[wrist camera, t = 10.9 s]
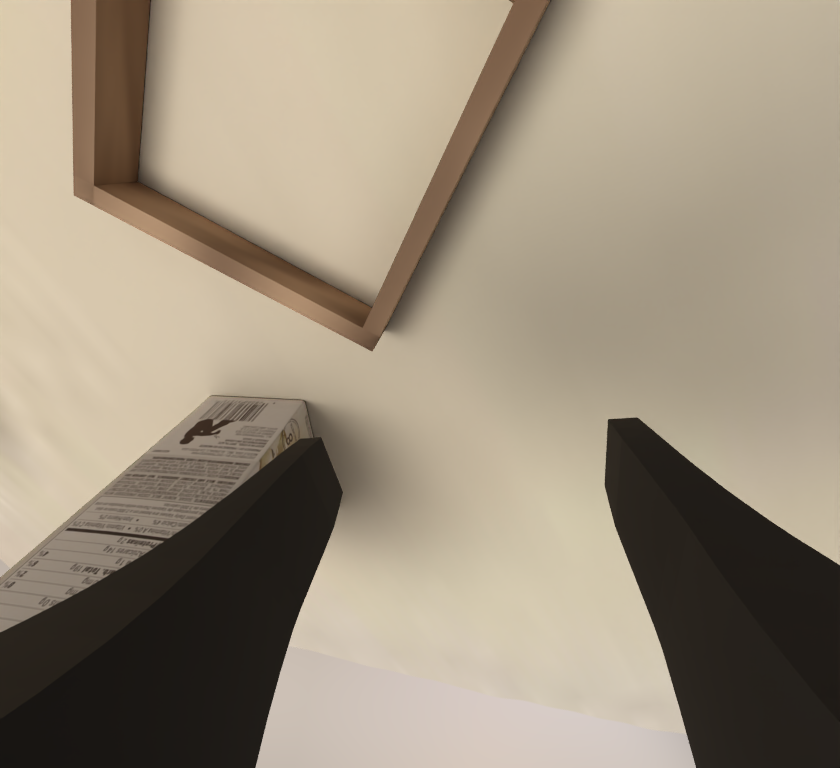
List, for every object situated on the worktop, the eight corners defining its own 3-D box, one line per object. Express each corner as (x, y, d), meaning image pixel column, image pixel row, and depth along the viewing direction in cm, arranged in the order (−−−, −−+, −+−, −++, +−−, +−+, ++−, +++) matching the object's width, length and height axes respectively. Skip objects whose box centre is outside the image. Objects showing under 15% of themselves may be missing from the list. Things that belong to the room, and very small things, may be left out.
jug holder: (555, -11, 12) (567, -41, 10) (383, 331, 19) (372, 351, 17) (141, -298, 10) (65, -395, 9) (118, 190, 17) (73, 194, 15)
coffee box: (335, 510, 26) (168, 899, 13) (247, 502, 27) (6, 855, 14) (308, 396, 22) (-1, 819, 8) (204, 392, 23) (-227, 761, 9)
